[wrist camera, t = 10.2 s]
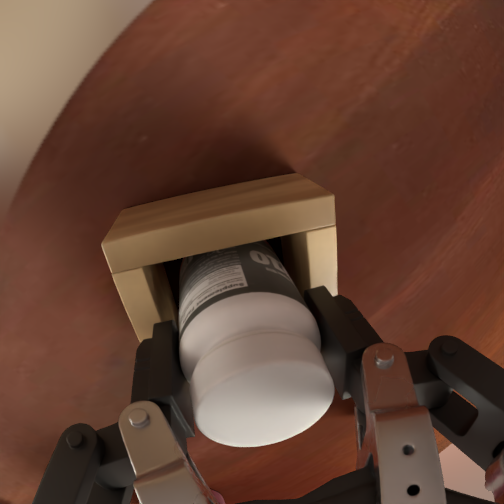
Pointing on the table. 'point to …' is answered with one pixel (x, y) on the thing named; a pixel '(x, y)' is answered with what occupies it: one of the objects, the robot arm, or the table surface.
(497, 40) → the table surface
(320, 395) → the pill bottle
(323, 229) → the bottle socket
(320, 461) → the table surface
